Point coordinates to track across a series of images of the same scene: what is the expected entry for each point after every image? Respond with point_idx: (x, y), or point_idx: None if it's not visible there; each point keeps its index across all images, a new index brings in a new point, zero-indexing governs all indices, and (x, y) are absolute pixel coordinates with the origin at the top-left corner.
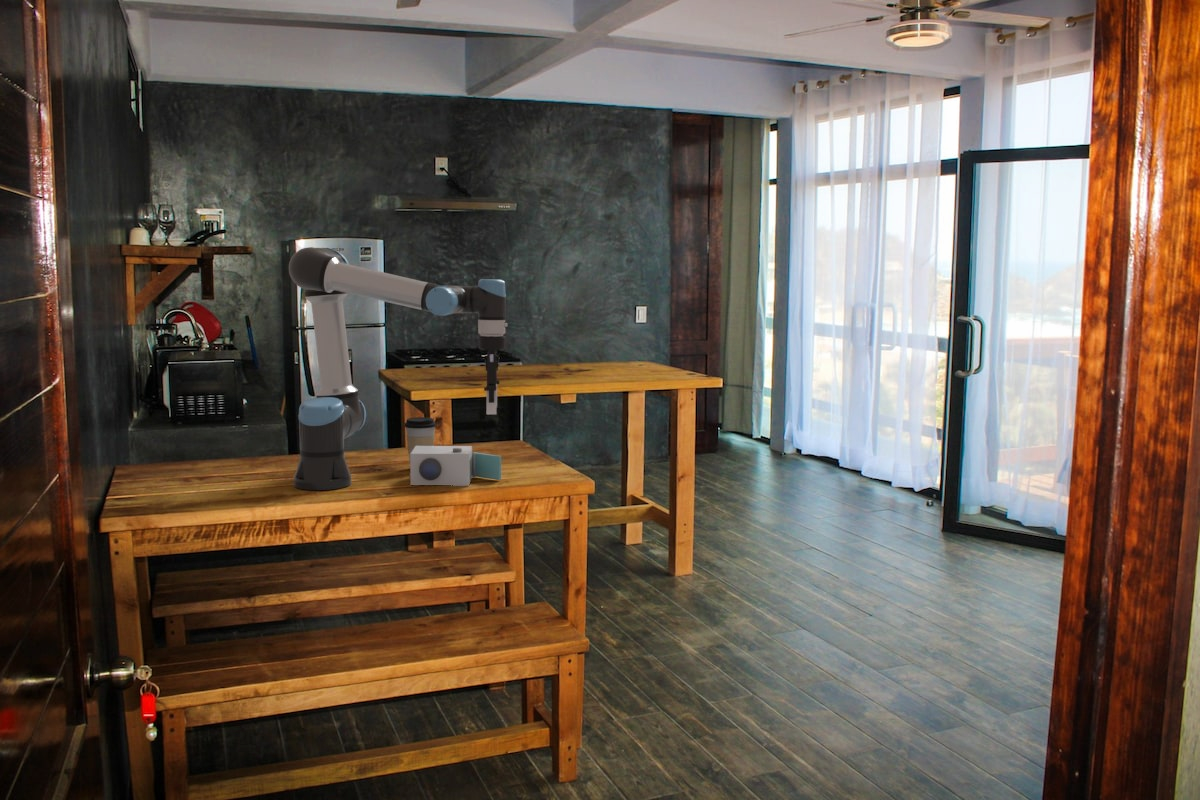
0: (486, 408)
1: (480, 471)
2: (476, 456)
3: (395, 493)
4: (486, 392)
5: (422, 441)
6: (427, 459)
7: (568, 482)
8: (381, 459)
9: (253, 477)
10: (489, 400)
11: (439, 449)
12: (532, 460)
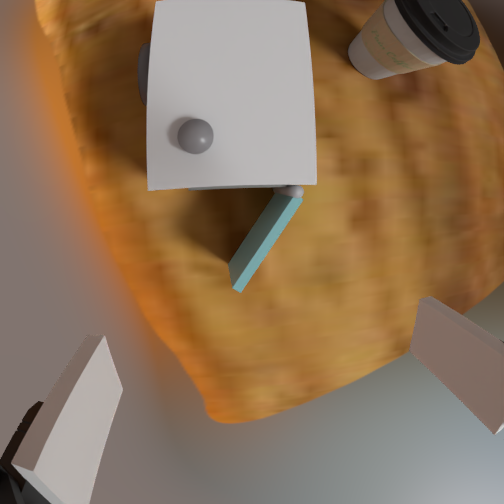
0: (73, 357)
1: (267, 210)
2: (287, 200)
3: (94, 39)
4: (17, 451)
5: (380, 28)
6: (139, 55)
7: (231, 401)
8: None
9: None
10: (29, 416)
11: (237, 69)
12: None
